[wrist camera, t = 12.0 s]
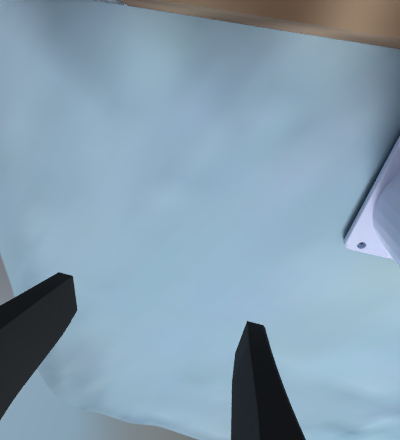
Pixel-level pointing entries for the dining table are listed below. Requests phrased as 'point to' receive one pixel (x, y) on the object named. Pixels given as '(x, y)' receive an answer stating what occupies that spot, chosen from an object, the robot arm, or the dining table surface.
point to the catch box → (112, 1)
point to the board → (299, 16)
